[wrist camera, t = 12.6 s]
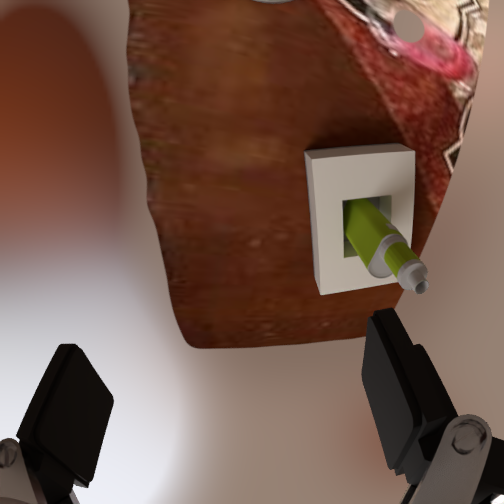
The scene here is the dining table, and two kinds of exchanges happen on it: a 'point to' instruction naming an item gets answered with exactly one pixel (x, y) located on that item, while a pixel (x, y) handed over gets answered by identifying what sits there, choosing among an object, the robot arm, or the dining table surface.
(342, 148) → the charging dock
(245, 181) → the dining table surface
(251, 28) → the dining table surface
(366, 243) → the vape
